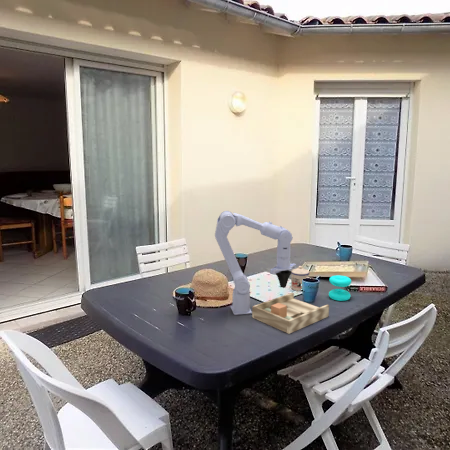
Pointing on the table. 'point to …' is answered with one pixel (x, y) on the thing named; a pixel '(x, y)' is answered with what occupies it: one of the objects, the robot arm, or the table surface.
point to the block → (279, 309)
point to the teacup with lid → (298, 277)
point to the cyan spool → (339, 293)
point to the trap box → (289, 313)
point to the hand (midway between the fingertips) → (283, 287)
